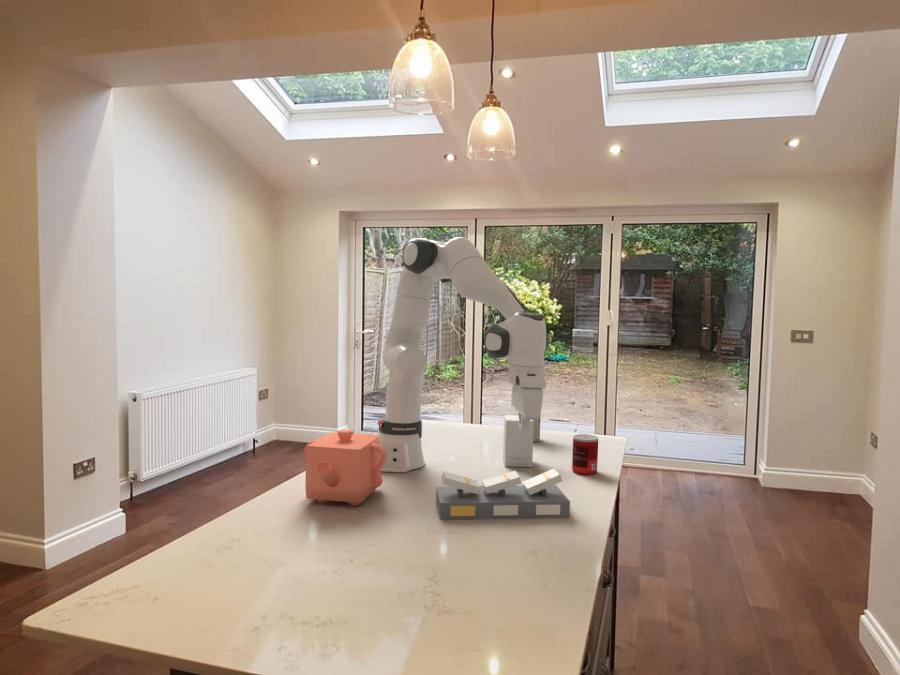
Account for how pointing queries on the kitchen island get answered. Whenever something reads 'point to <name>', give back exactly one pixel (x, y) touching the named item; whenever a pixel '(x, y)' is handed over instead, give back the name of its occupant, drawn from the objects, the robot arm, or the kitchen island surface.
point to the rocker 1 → (460, 482)
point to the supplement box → (517, 443)
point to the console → (501, 503)
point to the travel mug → (536, 430)
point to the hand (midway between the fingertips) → (523, 430)
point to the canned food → (585, 454)
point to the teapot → (343, 467)
